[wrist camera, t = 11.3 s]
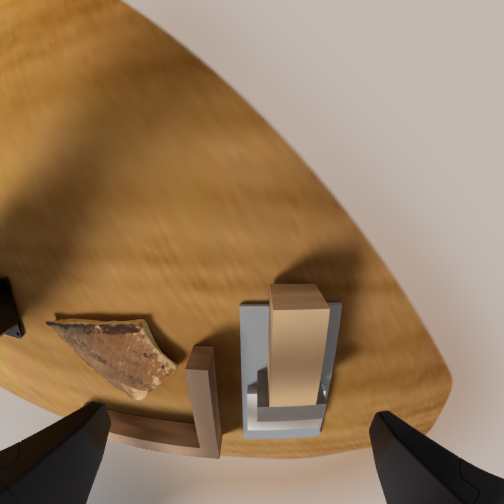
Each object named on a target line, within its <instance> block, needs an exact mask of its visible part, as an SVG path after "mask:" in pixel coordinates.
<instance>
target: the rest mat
mask: <svg viewBox="0 0 504 504" xmlns="http://www.w3.org/2000/svg"><path fill="white" fill-rule="evenodd" d="M327 304H328V306H329V308H330V314H329V322H328V330H327V338H326V346H325V353H324V359H323V366H322V372H321V378H320V382H321V383H324V386H325V389H326V393H325V399H326V401H327V397H328V392H329V387H330V382H331V376H332V371H333V365H334V359H335V353H336V347H337V341H338V334H339V327H340V319H341V312H342V303H341V302H333V303H327ZM268 332H269V304H240V342H241V378H242V409H243V436H244V439H284V438H301V437H313V436H319V432H320V428H321V424H322V419H320V421H319V426H318V427H317V428H305V429H289V430H248V423H247V386H257V371H267V365H268Z"/></svg>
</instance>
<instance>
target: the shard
mask: <svg viewBox="0 0 504 504" xmlns="http://www.w3.org/2000/svg"><path fill="white" fill-rule="evenodd" d="M46 324H47V325H49V326H50V327H51V328H52V329H53V330H54V331H55V332H56V333H57V334H58V336H59V337H60V338H61V339H63V340H64V341H65V342H67V344H68V345H69V346H70V347H71V348H72V349H73V350H74V351H75V352H76V353H77V354H78V355H79V357H80V358H81V359H82V360H83V361H85V362H86V363H87V364H88V365H89V366H90V367H92V368H93V369H94V370H95V371H96V372H97V373H98V374H99V375H100V376H102V377H103V378H104V379H106V380H107V381H108V382H109V383H110V384H112V385H113V386H115V387H116V388H117V389H119V390H121V391H123V392H124V393H125V394H127V395H128V396H129V397H131V398H132V399H135V400H142V399H143V398H144V397H146V396H148V395H149V394H150V393H151V392H152V391H153V390H154V389H155V388H156V387H157V386H158V385H159V384H160V383H161V382H162V381H163V380H164V379H165V378H167V377H169V376H170V375H171V374H173V373H174V372H175V371H176V368H177V367H178V365H177V364H176V363H174V362H173V361H172V360H170V359H169V358H167V356H166V355H165V354H163V353H162V351H161V350H160V349H159V347H158V345H157V344H156V342H155V341H154V338H153V336H152V334H151V331H150V329H149V327H148V324H147V322H146V320H144V319H137V320H130V321H116V320H114V321H108V322H103V321H98V320H88V319H86V320H84V319H74V318H69V319H59V320H56V321H46Z"/></svg>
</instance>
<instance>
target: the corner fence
mask: <svg viewBox="0 0 504 504" xmlns="http://www.w3.org/2000/svg"><path fill="white" fill-rule="evenodd" d="M185 371H186V377H187V383H188V389H189V395H190V401H191V406H192V411H193V416H194V421H195V424H192V423H183V422H174V421H167V420H160V419H153V418H147V417H142V416H136V415H131V414H126V413H121V412H117V411H112V410H108V409H107V411H108V413H109V416H110V418H111V427H110V430H109V434H108V438H107V440H110V441H113V442H117V443H121V444H125V445H129V446H134V447H138V448H143V449H148V450H153V451H159V452H165V453H171V454H178V455H185V456H194V457H204V458H216V459H219V458H220V450H221V442H222V428H221V419H220V410H219V400H218V390H217V380H216V369H215V357H214V347H212V346H193V349H192V352H191V354H190V357H189V360H188V363H187V365H186V368H185ZM85 405H87V404H84V406H85ZM84 406H83V407H84Z"/></svg>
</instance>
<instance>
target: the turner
mask: <svg viewBox="0 0 504 504" xmlns="http://www.w3.org/2000/svg"><path fill="white" fill-rule="evenodd" d="M329 314H330V308H329V306H328V304H327V303H326V301H325V299H324V298H323V296H322V294H321V292H320V291H319V289H318V287H317V286H316V284H270V290H269V332H268V365H267V371H257V386H247V423H248V430H289V429H305V428H317V427H318V426H319V421H320V419H323V418H324V415H325V411H326V406H327V402H326V399H325V393H326V389H325V386H324V383H321V382H320V378H321V372H322V366H323V359H324V353H325V346H326V338H327V330H328V322H329Z"/></svg>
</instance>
